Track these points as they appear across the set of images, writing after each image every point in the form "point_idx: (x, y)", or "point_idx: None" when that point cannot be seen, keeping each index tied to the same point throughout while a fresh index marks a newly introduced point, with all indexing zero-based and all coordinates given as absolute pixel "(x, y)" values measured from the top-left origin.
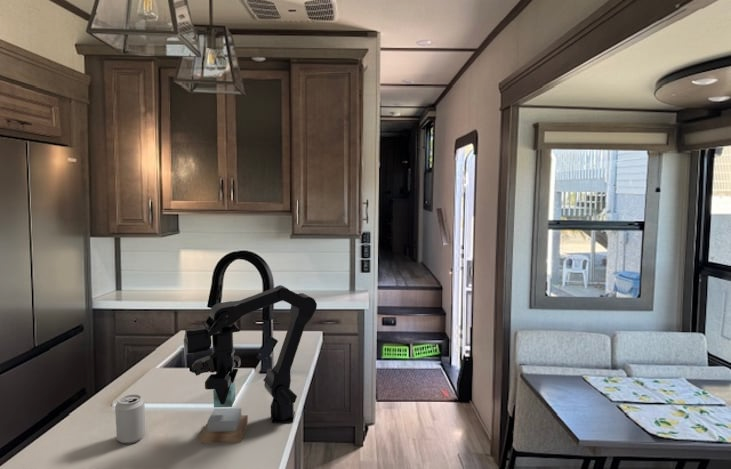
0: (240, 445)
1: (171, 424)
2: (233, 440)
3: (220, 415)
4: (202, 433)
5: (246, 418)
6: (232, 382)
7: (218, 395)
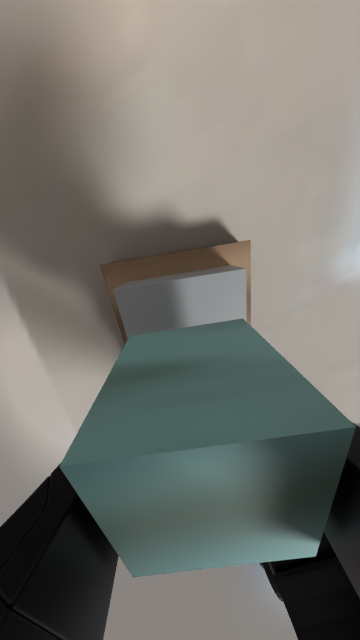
0: None
1: (234, 26)
2: None
3: (179, 323)
4: (108, 267)
5: None
6: (335, 546)
7: (60, 473)
